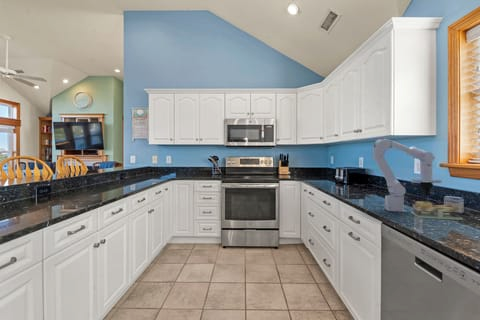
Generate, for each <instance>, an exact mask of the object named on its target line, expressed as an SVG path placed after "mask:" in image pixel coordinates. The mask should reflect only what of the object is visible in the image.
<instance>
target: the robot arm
mask: <svg viewBox="0 0 480 320" xmlns="http://www.w3.org/2000/svg"><path fill="white" fill-rule="evenodd" d="M372 149H373V153H372V156H373V157H372V158H373V160H374V161H375V162H376V164H377V167H378V168H379V170H380V171H381V173H382V175H383V177H384V179H385V180H386V186H387V191H388V192H389V194H388V195H387V194H386V195H385V197H384V209H385V210H387V212H400V213H401V212H405V213H406V212H407V210H406V209H404V205H405V203H404V201H405V199H404V198H405V197H404V195H405V194H406V192H407V191H406V187H404V186H403V185H402V184H401V182H400V181H399V180H398V179H397V178H396V176H395V174H394V172H393V171H392V169H391V167H390V165H389V163H388V162H387V159H386V158H385V154H386V152H387V151H388V150H389V149H395V150H397V151H398V150H399V151H401V152H404V153H406V155H407V156H408V157H412V158H414V159H417V160H419V162H420V163H419V165H420V166H419V167H420V169H419V170H420V171H419V174H420V175H419V178H416V179H414V178H413V179H411V184H413V183H414V184H415V183H417V184H418V183H419V185H420V187H421V189H422V191H423V195H424V196H429V193H430V191H431V188H432V187H433V186H434V184H442V183H443V181H442V179H433V161H434V160H435V158H436V156H435V155H434V153H432V152H431V151H426V150H425V149H420V148H418V146H415V145H414V146H406V145H404V144H402V143H399V142H397V141H395V140H392V139H388V138H383V139H377V140H375V142H374V143H373V146H372Z"/></svg>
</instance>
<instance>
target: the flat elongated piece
mask: <svg viewBox="0 0 480 320" xmlns="http://www.w3.org/2000/svg"><path fill="white" fill-rule="evenodd" d="M412 209H413V210H414V209H415V210H417V211H421V212H429V211H434V213H437V210H443V213H450V212H461V208H459V207H456V206H454V205H444V204H432V207H418V206H416V204H412Z"/></svg>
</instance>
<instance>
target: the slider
mask: <svg viewBox="0 0 480 320" xmlns="http://www.w3.org/2000/svg"><path fill="white" fill-rule="evenodd" d="M415 205H416V206H418V207H432V205H433V202H430V201H415Z"/></svg>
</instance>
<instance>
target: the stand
mask: <svg viewBox="0 0 480 320" xmlns="http://www.w3.org/2000/svg"><path fill="white" fill-rule="evenodd" d="M410 214H412V215H413V216H415V217H417V218H418V219H432V220H433V219H434V220H438V219H439V220H451V221H453V220H457V221H464V218H463V217H461V216H460V214H459V213H454V212H443V210H437V212H435V211H417V210H415V209H414V208H413V211H411V212H410Z"/></svg>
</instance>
